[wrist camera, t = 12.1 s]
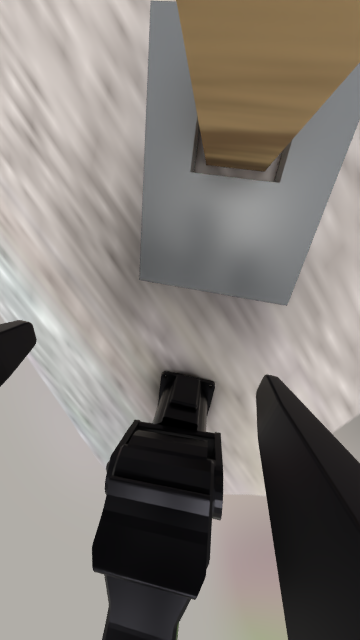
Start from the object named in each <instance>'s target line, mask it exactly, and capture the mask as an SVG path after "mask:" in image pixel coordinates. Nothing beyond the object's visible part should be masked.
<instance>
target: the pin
mask: <svg viewBox="0 0 360 640" xmlns="http://www.w3.org/2000/svg"><path fill="white" fill-rule="evenodd" d="M176 2H177V7H178V13H179V18H180V24H181V29H182V34H183V40H184V45H185V51H186V56H187V62H188V67H189V73H190V78H191V83H192V89H193V94H194V100H195V105H196V111H197V116H198V122H199V127H200V132H201V138H202V143H203V149H204V154H205V160H206V165H211V166H220V167H229V168H238V169H247V170H256V171H265V170H266V169H267V168H268V167H269V166H270V165H271V163H272V162H273V161H274V160H275V159H276V158H277V157H278V155H279V154H280V153H281V152H282V151H283V150H284V149H285V147H286V146H287V145H288V144H289V143H290V142H291V140H292V139H293V138H294V137H295V136H296V135H297V134H298V132H299V131H300V130H301V129H302V128H303V127H304V126H305V124H306V123H307V122H308V121H309V120H310V119H311V118H312V116H313V115H314V114H315V113H316V112H317V111H318V110H319V108H320V107H321V106H322V105H323V104H324V103H325V102H326V100H327V99H328V98H329V97H330V96H331V95H332V94H333V92H334V91H335V90H336V89H337V88H338V87H339V86H340V84H341V83H342V82H343V81H344V80H345V79H346V78H347V76H348V75H349V74H350V73H351V72H352V71H353V70H354V68H355V67H356V66H357V65H358V64H359V63H360V0H176Z"/></svg>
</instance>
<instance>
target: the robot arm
mask: <svg viewBox="0 0 360 640" xmlns="http://www.w3.org/2000/svg"><path fill="white" fill-rule="evenodd" d="M35 344H36V336H35V332H34V328H33V325H32V324H31V323H30V322H27V321H22V320H17V321H13V322H8V323H4V324H0V386H1V385H2V384H3V383H4V382H5V381H6V380H7V379H8V378H9V377H10V376H11V374H12V373H13V372H14V371H15V370H16V368H17V367H18V366H19V365H20V363H21V362H22V361H23V360H24V358H25V357H26V356H27V355H28V353H29V352H30V351H31V350H32V348H33V347H34V346H35ZM165 375H166V376H165ZM209 385H212V386H209ZM214 389H215V383H214V382H212V381H209V380H204V379H199V378H195V377H190V376H185V375H181V374H176V373H172V372H167V371H164V372H163V373H162V376H161V384H160V393H159V401H158V408H157V411H156V414H155V417H154V420H153V423H146V422H140V420H134V422H133V423H132V425H131V426H130V427H129V429H128V430H127V432H126V433H125V435H124V436H123V438H122V440H121V441H120V443H119V444H118V446H117V447H116V449H115V450H114V452H113V453H112V455H111V457H110V461H109V462H108V463H107V466H106V471H107V475H106V481H105V493H106V495H107V496H106V500H105V504H104V509H103V512H102V516H101V519H100V522H99V526H98V529H97V532H96V535H95V539H94V542H93V546H92V566H93V571H94V572H98V573H101V574H104V575H105V582H106V588H107V595H108V601H109V608H108V614H107V619H106V624H105V629H104V633H103V638H102V640H177V638H178V627H179V621H180V619H181V617H182V616H183V614H184V612H185V610H186V608H187V606H188V604H189V602H190V600H191V599H194V600H195V599H196V598H197V596H198V594H199V591H200V589H201V586H202V584H203V582H204V579H205V576H206V569H207V567H208V564H209V560H210V544H211V525H212V518H213V519H217V520H221V516H222V504H223V462H222V448H221V434H220V433H216V432H215V433H210V432H206V419H207V415H208V411H209V407H210V404H211V400H212V396H213V393H214ZM256 405H257V430H258V442H259V449H260V456H261V463H262V469H263V476H264V483H265V489H266V496H267V503H268V509H269V516H270V522H271V528H272V536H273V542H274V549H275V556H276V562H277V569H278V575H279V582H280V589H281V595H282V602H283V608H284V615H285V621H286V628H287V635H288V640H360V463H359V462H358V461H357V460H356V459H355V458H354V457H353V456H352V455H351V454H350V452H349V451H348V450H347V449H345V447H344V446H343V445H342V444H341V443H340V442H339V441H338V440H337V439H336V438H335V437H334V436H333V435H332V434H331V432H330V431H329V430H328V429H327V428H326V427H325V426H324V425H323V424H322V423H321V422H320V421H319V420H318V419H317V418H316V417H315V416H314V415H313V414H312V412H311V411H310V410H309V409H308V408H307V407H306V406H305V405H304V404H303V403H302V402H301V401H300V400H299V399H298V398H297V397H296V396H295V395H294V394H293V392H292V391H291V390H290V389H289V388H288V387H287V386H286V385H285V384H284V383H283V382H282V381H281V380H280V379H279V378H278V377H276V376H272V375H265V376H264V377H263V379H262V381H261V383H260V385H259V387H258V389H257V393H256Z"/></svg>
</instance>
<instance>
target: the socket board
mask: <svg viewBox="0 0 360 640" xmlns="http://www.w3.org/2000/svg"><path fill="white" fill-rule="evenodd" d="M359 120H360V63H359V64H358V65H357V66H356V67H355V68H354V70H353V71H352V72H351V73H350V74H349V75H348V76H347V78H346V79H345V80H344V81H343V82H342V83H341V84H340V86H339V87H338V88H337V89H336V90H335V91H334V92H333V94H332V95H331V96H330V97H329V98H328V99H327V100H326V102H325V103H324V104H323V105H322V106H321V107H320V108H319V110H318V111H317V112H316V113H315V114H314V115H313V116H312V118H311V119H310V120H309V121H308V122H307V123H306V124H305V126H304V127H303V128H302V129H301V130H300V131H299V132H298V134H297V135H296V136H295V137H294V138H293V139H292V140H291V142H290V143H289V144H288V145H287V146H286V147H285V149H284V150H283V153H282V156H281V160H280V164H279V167H278V171H277V174H276V178H275V181H274V182H268V181H260V180H251V179H243V178H235V177H226V176H218V175H210V174H201V173H194V168H195V160H196V153H197V145H198V137H199V130H200V127H199V122H198V116H197V111H196V105H195V100H194V94H193V89H192V83H191V78H190V73H189V67H188V62H187V56H186V51H185V45H184V40H183V34H182V29H181V24H180V18H179V13H178V7H177V2H171V1H151V7H150V31H149V56H148V81H147V105H146V130H145V154H144V179H143V204H142V228H141V253H140V278H139V280H143V281H148V282H154V283H160V284H166V285H171V286H177V287H183V288H188V289H194V290H200V291H206V292H211V293H217V294H223V295H228V296H234V297H240V298H246V299H251V300H257V301H263V302H268V303H274V304H280V305H286V306H287V304H288V302H289V299H290V297H291V294H292V292H293V289H294V286H295V284H296V281H297V279H298V276H299V274H300V271H301V268H302V266H303V263H304V261H305V258H306V256H307V253H308V251H309V248H310V245H311V243H312V240H313V238H314V235H315V233H316V230H317V227H318V225H319V222H320V220H321V217H322V215H323V212H324V209H325V207H326V204H327V202H328V199H329V197H330V194H331V191H332V189H333V186H334V184H335V181H336V179H337V176H338V174H339V171H340V168H341V166H342V163H343V161H344V158H345V156H346V153H347V150H348V148H349V145H350V143H351V140H352V138H353V135H354V132H355V130H356V127H357V125H358V122H359Z"/></svg>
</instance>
